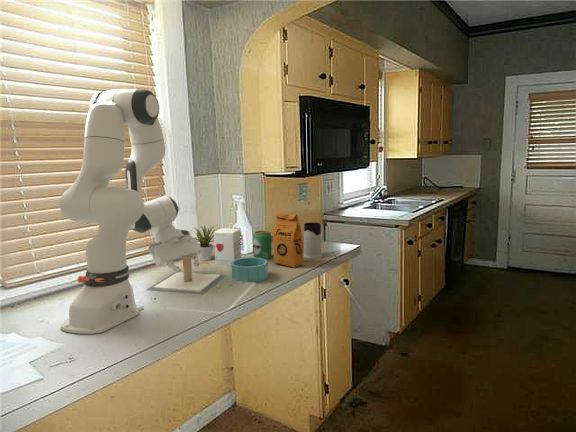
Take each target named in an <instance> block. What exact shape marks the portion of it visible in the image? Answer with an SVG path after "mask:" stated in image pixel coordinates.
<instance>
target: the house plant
mask: <svg viewBox="0 0 576 432" xmlns="http://www.w3.org/2000/svg"><path fill="white" fill-rule="evenodd" d="M215 226H217V224H215V225H213V226H211V227H209V228H208V229H207V227H206V226H205V225H203V227H201V230H202V232H203V234H202V233H201V231H200V230H199V229H198V228H197V227H193V228H194V230H195V231H196V232H195V231H193V230H192V232H194V233H195V234H196V237H194V238H195V239H196V241H197V242H198V243H199V245H200V246H201V249H202V250H201V252H200V254H199V255H198V259H199V260H200V261H203V262H204V261H210V260H212V255H213V247H214V246H213V244H212V243H211V242H213V239H214V232H215V231H217V230H219V227H217V228H215ZM214 228H215V229H214ZM212 230H213V231H212ZM210 243H211V244H210Z"/></svg>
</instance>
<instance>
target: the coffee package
mask: <svg viewBox="0 0 576 432" xmlns="http://www.w3.org/2000/svg"><path fill="white" fill-rule="evenodd" d="M275 217H276V220H275V222H274V226H273V231H272V240H273V241H272V245H273V247H272V248H273V263H274V264H277V265H281V266H285V267H290V268H293V269H295V268H297V267H301V266H303V265H304V257H303V255H304V239H303V233H302V229H301V223H300V221H299V218H298V215H297V214H288V213H281V212H279V213H278V212H277V213H276V214H275Z"/></svg>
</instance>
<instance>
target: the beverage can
mask: <svg viewBox="0 0 576 432" xmlns="http://www.w3.org/2000/svg"><path fill="white" fill-rule="evenodd" d="M272 251H273V250H272V234H271V232H270V231H269V230H257V231H254V233H253V256H254V257H255V258H262V259H266V260H267V261H268V260H271V259H272V257H273V256H272V255H273V254H272Z"/></svg>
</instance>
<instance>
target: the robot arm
mask: <svg viewBox="0 0 576 432" xmlns="http://www.w3.org/2000/svg"><path fill="white" fill-rule="evenodd" d="M159 112H160V104H159V101H158V98H157V97H156V95H155V94H154V93H153V92H152V91H151V90H148V89H145V88H144V89H143V88H137V89H134V88H133V89H130V88H116V89H110V90H101V91H98V92H96V93H94V94H93V95H92V96H91V98H90V101H89V110H88V112H87V116H86V120H85V121H86V122H85V128H84V137H83V138H84V139H83V140H84V141H83V142H84V143H83V152H82V153H83V155H82V164H81V168H80V170H79V174H78V175H77V177H76V179H75V181H74V182H73V184H72V185H71V186H70V187H69V188H68V189H66V190H65V191H64V192H63V193H62V195H61V197H60V200H59V210H60V211H61V214H62V216H63V217H64V218H65V219H67V220H70V221H74V222H76V223H80V224H81V223H82V224H98V231H97V234H96V236H94V237H93V238H91V239H90V240H89V241H88V242H87V243H86V245H85V257H86V266H87V270H86V272H85V275H78V277H77V282H78V283H83V284H84V286H83V287H82V288H81V290H80V291H79V293H78V294H77V296H76V297H75V299H73V301H72V303H71V304H70V306H69V309H68V311H69V312H68V315H69V316H68V318H67V320H65V321H64V322H63V323H61V324H60V325H59V326H60V330H61V331H63V332H67V333H72V334H81V335H90V334H91V335H93V334H100V333H104V332H106V331H108V330H110V329H113V328H114V327H116V326H118V325H120V324H122V323H124V322H126V321H128V320H130V319H132V318H134V317H136V316H138V315H139V314H140V310H139V308H137V306H136V301H135V300H136V299H135V295H134V289H133V286H132V284H131V283H130V280H129V278H130V269H129V265H128V263H127V239H128V235H129V232H130V230H132V231H134V232H137V233H140V234H144V233H145V232H149V233H150V234H151V235H152V238H153V240H154V242H155V243H151V244H149V245H148V252H149V253H150V255H151V257H152V259H153V261H154V263H155V265H156V266H158V267H160V268H162V267H164V266H167V267H168V268H170V269H172V270H173V271H174V273H178V272H182V268H181V267H180V266H179V265H178V266H177V265H176V264H175V263H179V262H181V261H183V257H185V256H191V260H193V263H192V264H193V265H194V267H199V266H200V264H201V262H200V261H199V260H198V259H199V254H200V252H201V250H202V249H201V246H200V245H199V244H200V242H199V241H198V240H196V239H195V238H196V237H193V236H192V233H191V230H187V229H180V228H176V226H174V225H173V222H174V221H175V220H176V219H177V216H178V215H179V214H178V213H179V210H180V209H179V206H178V203H177V202H176V201H175V199H173V198H172V197H171V196H169V195H163V196H159V197H156V198H153V199H151V200H148V201H144V199H143V192H142V191H143V190H142V182H143V179H144V177H146V175H147V174H148V173H149V172H150V171H152V169H154V168H155V167H157V166H158V165H160V163H161V162H162V161H163V159H165V155H166V143H165V139H164V134H163V130H162V126H161V123H160V120H159V118H158V117H159V114H160V113H159ZM125 126H128V135H129V141H130V146H131V151H130V157H129V159H128V160H127V161H126V163H125V145H126V144H125V141H126V136H125V135H126V133H125V132H126V131H125ZM124 164H125V170H124V171H125V172H124V173H125V187H122V186H121V187H120V186H112V187H111V186H109V184H110V182H111V179H112V178H113V177H115V175H117V174H118V173H120V172H121V171H122V170H123V168H124Z"/></svg>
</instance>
